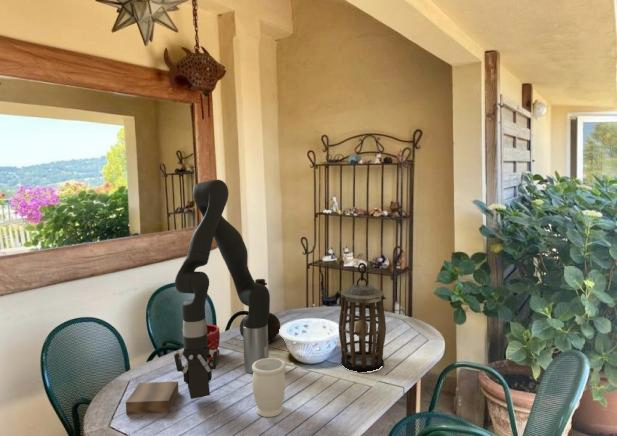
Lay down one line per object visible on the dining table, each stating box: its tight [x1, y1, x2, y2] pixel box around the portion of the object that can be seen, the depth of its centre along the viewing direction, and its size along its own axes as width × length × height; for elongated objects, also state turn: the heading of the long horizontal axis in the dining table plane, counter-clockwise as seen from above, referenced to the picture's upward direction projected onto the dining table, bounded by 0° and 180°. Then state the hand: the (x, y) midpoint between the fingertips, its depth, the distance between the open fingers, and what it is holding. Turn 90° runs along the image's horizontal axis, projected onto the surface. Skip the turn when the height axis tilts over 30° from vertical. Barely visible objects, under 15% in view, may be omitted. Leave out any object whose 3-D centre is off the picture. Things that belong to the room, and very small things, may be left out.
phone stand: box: [186, 357, 211, 400], centre depth 145 cm, size 9×6×12 cm, turn 21°
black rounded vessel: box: [239, 278, 281, 344], centre depth 198 cm, size 18×18×28 cm
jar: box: [251, 357, 286, 418], centre depth 140 cm, size 11×10×15 cm
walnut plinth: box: [125, 381, 180, 415], centre depth 146 cm, size 13×13×4 cm
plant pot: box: [207, 324, 221, 362], centre depth 181 cm, size 13×13×12 cm
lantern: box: [338, 262, 387, 372], centre depth 172 cm, size 19×19×40 cm
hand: (198, 381), depth 145 cm, fingers closed on phone stand, 6 cm apart
